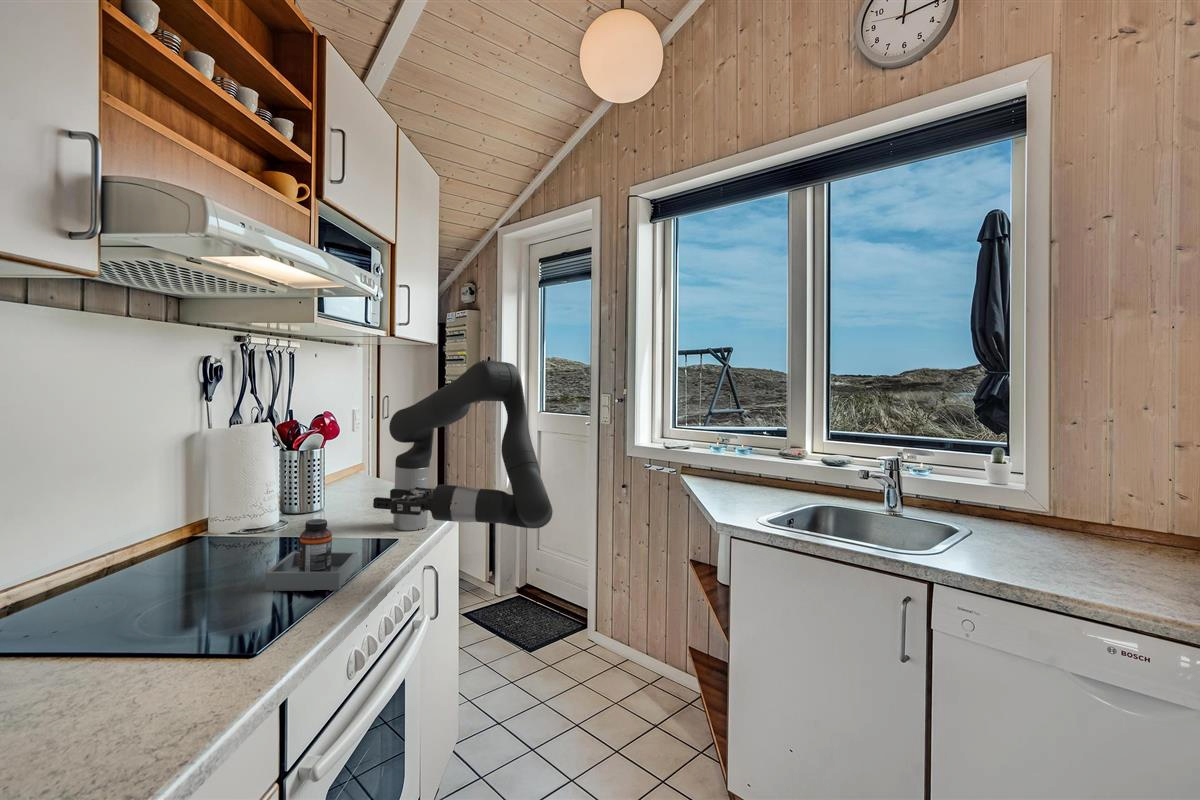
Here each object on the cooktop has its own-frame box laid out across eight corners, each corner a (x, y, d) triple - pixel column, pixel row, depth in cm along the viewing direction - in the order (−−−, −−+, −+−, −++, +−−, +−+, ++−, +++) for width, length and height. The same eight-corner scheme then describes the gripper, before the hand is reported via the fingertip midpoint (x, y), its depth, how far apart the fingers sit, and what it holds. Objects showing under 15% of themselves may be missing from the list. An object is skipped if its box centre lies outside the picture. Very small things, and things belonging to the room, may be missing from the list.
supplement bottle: (299, 571, 120) (301, 518, 120) (330, 569, 123) (332, 516, 122) (297, 581, 115) (299, 525, 114) (330, 578, 117) (332, 523, 117)
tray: (291, 567, 125) (292, 551, 124) (357, 567, 127) (357, 552, 127) (264, 590, 111) (265, 573, 111) (338, 590, 113) (339, 572, 113)
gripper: (467, 479, 128) (396, 474, 129) (448, 493, 114) (368, 487, 115) (465, 512, 129) (394, 507, 129) (446, 530, 115) (367, 524, 115)
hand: (382, 498), depth 122 cm, fingers open, 8 cm apart
